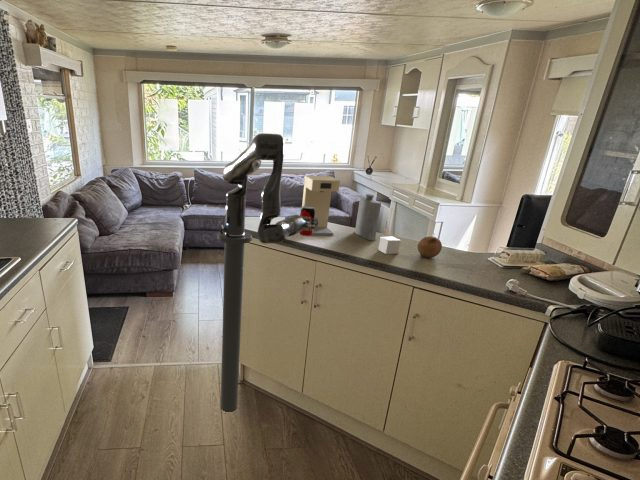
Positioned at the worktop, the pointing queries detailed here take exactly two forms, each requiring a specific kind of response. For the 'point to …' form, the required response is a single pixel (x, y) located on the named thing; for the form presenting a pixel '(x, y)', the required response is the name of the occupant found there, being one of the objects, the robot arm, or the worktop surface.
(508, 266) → the worktop surface
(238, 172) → the robot arm
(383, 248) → the white cube
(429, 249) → the onion
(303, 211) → the beverage can
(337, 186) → the coffee maker
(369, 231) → the hip flask
